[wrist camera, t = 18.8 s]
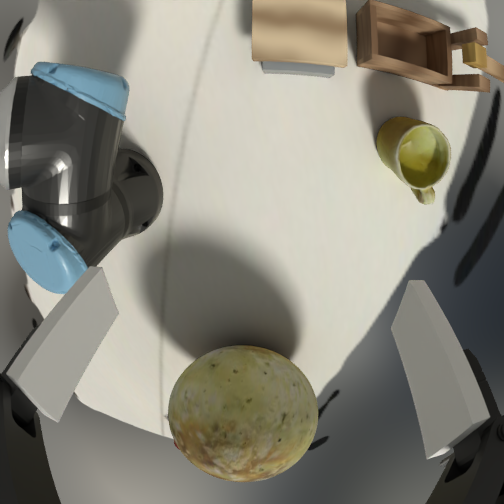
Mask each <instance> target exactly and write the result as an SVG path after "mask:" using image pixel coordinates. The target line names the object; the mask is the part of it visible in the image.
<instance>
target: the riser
mask: <svg viewBox="0 0 504 504" xmlns="http://www.w3.org/2000/svg"><path fill="white" fill-rule="evenodd" d="M262 70H263V72H264V73H272V74H293V75H307V76H317V77H326V78H330V77H331V76H333V75H334V70H335V67H334V66H326V65H317V64H307V63H294V62H272V61H263V69H262Z"/></svg>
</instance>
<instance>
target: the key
mask: <svg viewBox="0 0 504 504" xmlns="http://www.w3.org/2000/svg"><path fill="white" fill-rule="evenodd" d="M462 55H463V63H464V64H466V65H468V66H470V67H472V68H478V69H480V70H482V71H484V72H486V73H488V74H490V75H491V76H493V77H495V78H496V79H498V80H500V81H501V82H503V83H504V66H503V65H501V64H500V63H498V62H497V61H495V60H493V59H492V58H490V57H488V56H487V55H486V48H484V47H483V46H481V45H479V44H477V43H475V42H472V43H466V44H462Z"/></svg>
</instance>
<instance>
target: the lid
mask: <svg viewBox="0 0 504 504" xmlns="http://www.w3.org/2000/svg"><path fill="white" fill-rule="evenodd" d="M252 60H253V61H272V62H294V63H307V64H317V65H326V66H334V67H341V68H344V67H346V66H347V15H346V0H252Z"/></svg>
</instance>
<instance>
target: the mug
mask: <svg viewBox="0 0 504 504" xmlns="http://www.w3.org/2000/svg"><path fill="white" fill-rule="evenodd" d="M377 150H378V154H379V156H380V158H381V160H382V162H383V163H384V164H385V165H386V166H387V167H388V168H390V169H391V170H392V171H393V172H394V173H395V174H396V175H397V177H398V178H399V179H400V180H401V181H403V182H404V183H405V184H406V185H408V186H409V187H410V188H411V190H412V191H413V193H414V194H415V196H416V198H417V199H418V201H419V202H420V203H422V204H425V205H427V204H432V203H433V202H434V200H435V191H434V189H433V188H432V186H434V185H435V184H438V183H439V182H440V181H441V180H442V179H443V177H444V176H445V175H446V173H447V171H448V169H449V165H450V160H451V148H450V144H449V142H448V139H447V138H446V137H445V135H444V134H443V133H442V132H441V131H440V129H438V128H437V127H435V126H433V125H431V124H428V123H426V122H423V121H419V120H415V119H411V118H407V117H394V118H392V119H390V120H388V121H387V122H385V123H384V124H383V125H382V127H381V128H380V130H379V132H378V135H377Z"/></svg>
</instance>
